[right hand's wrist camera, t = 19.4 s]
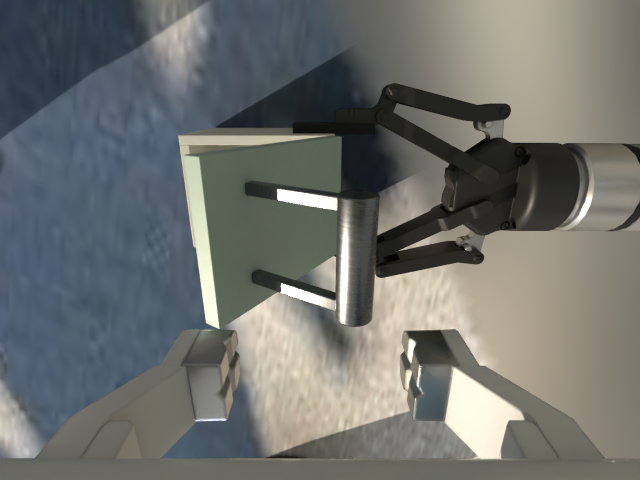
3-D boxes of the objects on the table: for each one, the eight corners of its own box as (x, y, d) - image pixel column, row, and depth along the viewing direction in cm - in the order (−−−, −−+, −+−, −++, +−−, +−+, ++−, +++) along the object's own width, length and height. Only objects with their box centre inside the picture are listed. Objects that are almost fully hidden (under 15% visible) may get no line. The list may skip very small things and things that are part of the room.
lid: (205, 323, 20) (338, 384, 15) (183, 154, 16) (343, 172, 12) (328, 249, 30) (429, 273, 25) (329, 135, 27) (445, 141, 22)
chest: (221, 216, 39) (193, 247, 30) (212, 127, 35) (177, 135, 27) (331, 216, 38) (333, 247, 30) (332, 127, 35) (335, 135, 27)
